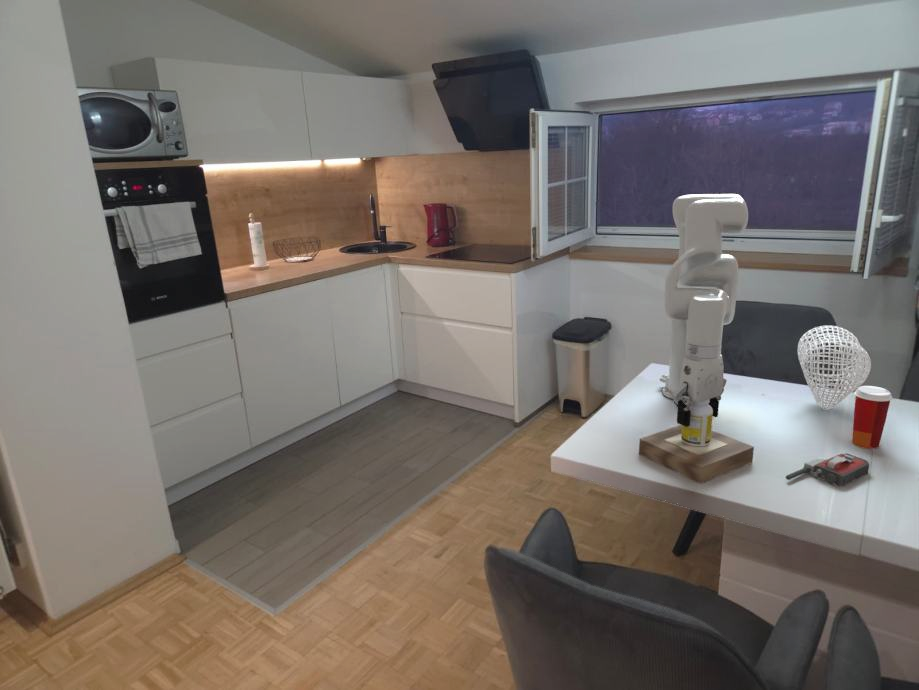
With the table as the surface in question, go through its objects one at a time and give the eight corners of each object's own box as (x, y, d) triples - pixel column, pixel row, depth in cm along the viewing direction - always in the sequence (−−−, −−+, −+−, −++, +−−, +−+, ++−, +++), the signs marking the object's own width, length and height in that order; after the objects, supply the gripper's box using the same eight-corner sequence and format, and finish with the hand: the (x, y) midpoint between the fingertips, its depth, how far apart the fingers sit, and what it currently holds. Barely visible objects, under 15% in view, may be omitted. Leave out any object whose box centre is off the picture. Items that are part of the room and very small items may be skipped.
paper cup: (877, 439, 157) (886, 386, 153) (888, 452, 150) (898, 397, 146) (842, 436, 159) (850, 384, 155) (851, 449, 152) (860, 394, 148)
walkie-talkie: (833, 458, 149) (781, 481, 139) (836, 441, 147) (783, 463, 138) (873, 473, 141) (821, 498, 132) (876, 455, 140) (823, 479, 130)
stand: (638, 453, 153) (639, 437, 152) (689, 436, 162) (690, 421, 161) (700, 483, 138) (701, 466, 137) (752, 462, 147) (754, 446, 146)
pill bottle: (707, 436, 151) (711, 391, 148) (712, 448, 145) (716, 401, 142) (679, 435, 153) (682, 390, 150) (682, 446, 147) (686, 399, 143)
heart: (789, 390, 192) (797, 318, 186) (848, 395, 186) (859, 322, 180) (798, 424, 167) (809, 344, 161) (867, 432, 161) (880, 348, 155)
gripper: (690, 361, 135) (685, 434, 140) (742, 347, 144) (735, 416, 149) (663, 352, 142) (658, 423, 146) (714, 340, 150) (708, 407, 155)
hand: (697, 420), depth 148 cm, fingers open, 9 cm apart
